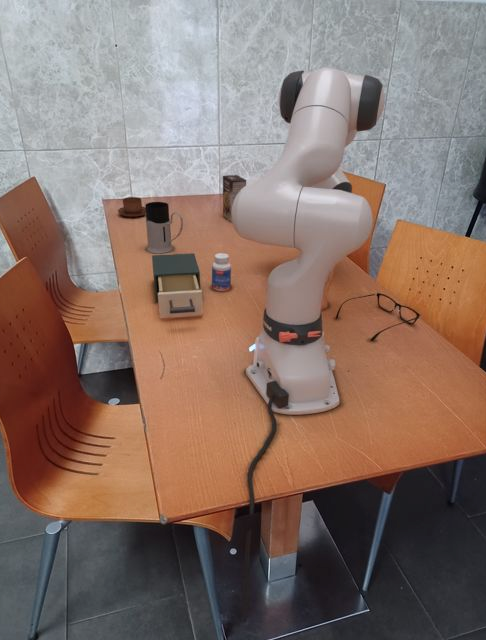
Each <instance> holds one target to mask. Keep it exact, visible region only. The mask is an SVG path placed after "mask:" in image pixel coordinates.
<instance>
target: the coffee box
mask: <svg viewBox="0 0 486 640" xmlns="http://www.w3.org/2000/svg"><path fill="white" fill-rule="evenodd" d="M245 186H247V179H246V178H244V177H241V176H239V175H238V174H228V175H222V216H223V217H224V218H225V219H227V220H228V221H229V222H231V223H233V222H232V215H231V213H232V205H233V202H234V199H235V198H236V196H237V194H238V193H239V192H240V190H241V189H242V188H243V187H245Z"/></svg>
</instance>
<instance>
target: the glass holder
mask: <svg viewBox="0 0 486 640" xmlns="http://www.w3.org/2000/svg"><path fill="white" fill-rule="evenodd" d="M169 206H170V205H169V203H167V202H164V201H151V202H147V203H145V205H144V207H145V208H146V214H145V225H146V235H147V236H146V237H147V248H146V249H147V251H148V252H149V253H153V254H167V253H170V252H172V251H173V250H174V247H173V245H172V242H173V241H174V240H176V239H177V238H178V237H180V235H181V232H182V230H183V225H184V221H183V220H184V219H183V216H182V214H181V213H180V212H177V211H174V212H172V213H171V214H170V208H169ZM175 214H176V215H177V216H179V218H180V229H179V231H178V233H177V235H176V236H174V237H173V238H172V233H171V231H172V230H171V224H172V223H173V217H174V215H175Z"/></svg>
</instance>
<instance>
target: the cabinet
mask: <svg viewBox="0 0 486 640" xmlns="http://www.w3.org/2000/svg"><path fill="white" fill-rule="evenodd" d="M151 261H152V274H153V286H154V296H155V297H154V299H155V303H158V293H159V285H158V276H173V275H191V274H196V278H197V282H198V286H199V290H201V271H200V268H199V264H198V261H197V257H196V253H194V252H191V253H173V254H172V253H171V254H152V255H151Z"/></svg>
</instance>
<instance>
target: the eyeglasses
mask: <svg viewBox="0 0 486 640" xmlns="http://www.w3.org/2000/svg"><path fill="white" fill-rule="evenodd" d="M372 296H376V297H377V305H378V307H379V308H380V309H381V310H383V311H385V312H386V313H387V312H388V313H392V312H394V311H395V309H397V307H398V311H397V314H399V317H400V320H402V322H400V323H397V324H395V325H392V326H391V325H390V326H389V327H386V328H384V329H382V330H380V331H378V332H377V333H375V334H374V335H373V336H372V337H371V338H370V340H369V341H375V340H376V339H377V337H379V335H380V334H382V332H384V331H387V330H389V329H390V328H393V327H395V326H398V325H399V326H400V325H402V324H405V323H407V324H409V325H414V324H415V323H416V322H417V321H418V319H420V318H421V314H420V313H418V312H417V311H416V310H415V309H414V308H411V307H410V306H407V305H402V304H400V303H398V302H396V301H395V300H394V299H393V298H391V297H390V296H388V295H387V294H383V293H380V292H377V293H371V294H368V295H362V296H358V297H357V296H356V297H352V298H349V299H347V300H345V301H344V302H343V303H342V304H341V305H340V306H339V308H338V311H337V312H336V317H335V319H336V320H337V319H339V315H340V312H341V309H342V307H343V305H344V304H345V303H347V302H348V301H351V300H355V299H361V298H367V297H372ZM381 296H382V297H385V298H388V299H389V300H391V302H392V303H393V304H394V307H393V308H392V309H391V310H387V309H385V308H383V307H382V306H381V305H380V297H381ZM401 308H405V309H407V310H410V311H412V312H413V313H415V317H413V318H411V319H408V320H405V319H404V318H403V317H402V314H401V313H402V312H401V311H402V309H401ZM411 321H413V322H411Z"/></svg>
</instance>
